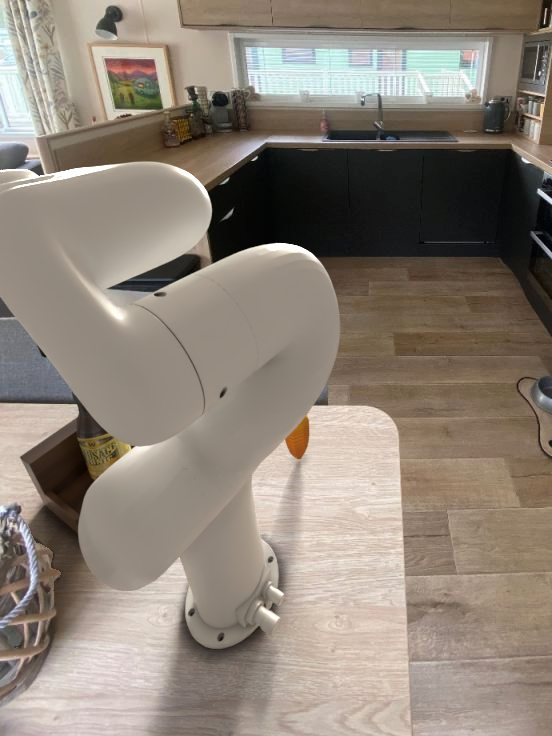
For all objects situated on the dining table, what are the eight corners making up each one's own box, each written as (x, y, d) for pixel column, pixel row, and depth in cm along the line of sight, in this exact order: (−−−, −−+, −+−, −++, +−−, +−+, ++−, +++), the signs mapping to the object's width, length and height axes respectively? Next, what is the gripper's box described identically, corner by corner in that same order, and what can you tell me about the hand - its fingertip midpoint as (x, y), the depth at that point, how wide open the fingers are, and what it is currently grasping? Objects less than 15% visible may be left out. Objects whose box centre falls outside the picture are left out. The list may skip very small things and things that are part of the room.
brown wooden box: (174, 455, 75) (160, 410, 70) (85, 540, 62) (61, 491, 57) (134, 431, 80) (119, 387, 75) (44, 504, 67) (19, 456, 62)
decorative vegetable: (317, 457, 75) (312, 399, 69) (296, 476, 71) (288, 417, 66) (302, 441, 78) (296, 385, 72) (281, 458, 75) (272, 400, 69)
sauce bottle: (86, 492, 66) (48, 405, 58) (103, 457, 71) (70, 375, 64) (129, 484, 67) (96, 399, 59) (142, 451, 73) (114, 369, 65)
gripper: (100, 263, 52) (132, 363, 59) (32, 239, 59) (68, 331, 66) (34, 290, 46) (78, 398, 53) (-33, 260, 53) (13, 359, 60)
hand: (72, 361), depth 59 cm, fingers open, 9 cm apart
